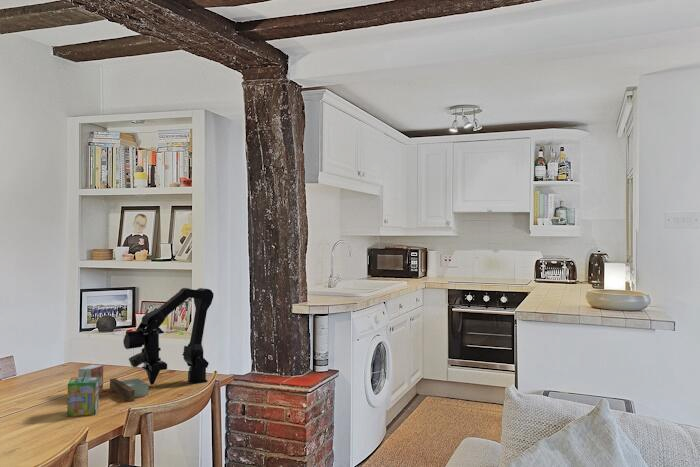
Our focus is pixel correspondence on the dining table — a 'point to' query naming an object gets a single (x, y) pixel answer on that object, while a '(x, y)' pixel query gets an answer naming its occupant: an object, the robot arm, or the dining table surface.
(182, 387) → the dining table surface
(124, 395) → the walnut board
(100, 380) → the small box
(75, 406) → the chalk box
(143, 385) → the sage block
